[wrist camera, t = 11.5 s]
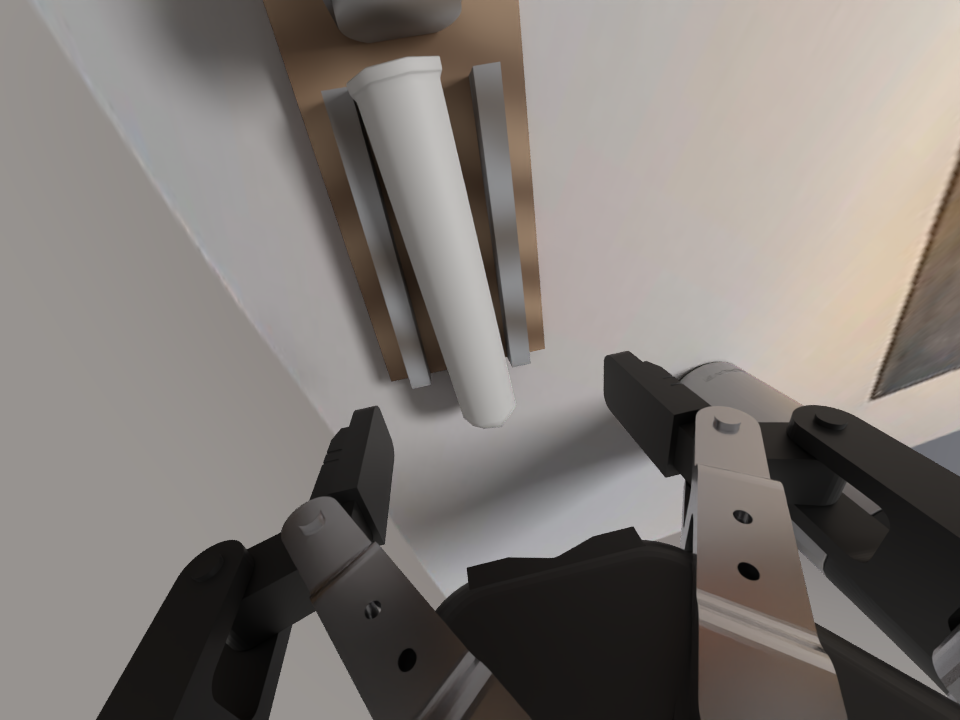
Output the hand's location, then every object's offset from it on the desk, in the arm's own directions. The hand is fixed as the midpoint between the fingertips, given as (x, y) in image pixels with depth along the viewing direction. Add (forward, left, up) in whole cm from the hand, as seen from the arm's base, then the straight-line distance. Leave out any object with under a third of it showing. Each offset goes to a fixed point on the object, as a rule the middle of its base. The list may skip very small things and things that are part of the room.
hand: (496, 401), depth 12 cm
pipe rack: (+6, 0, -18) cm, 19 cm away
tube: (0, 0, -17) cm, 17 cm away
